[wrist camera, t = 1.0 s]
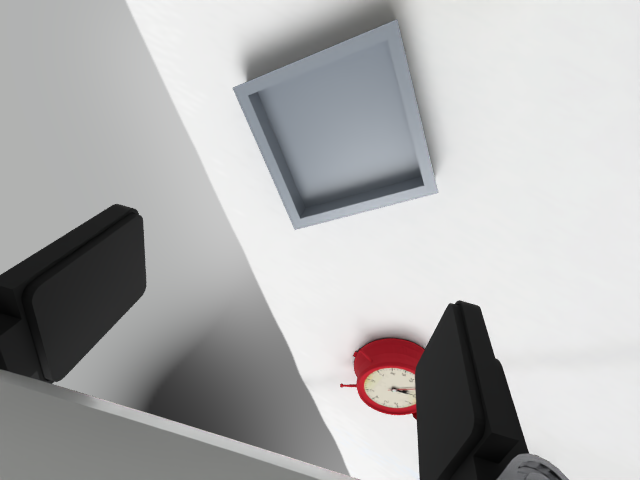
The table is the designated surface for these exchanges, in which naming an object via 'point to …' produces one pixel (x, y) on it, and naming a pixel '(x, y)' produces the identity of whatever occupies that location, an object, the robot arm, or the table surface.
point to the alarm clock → (388, 375)
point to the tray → (341, 129)
